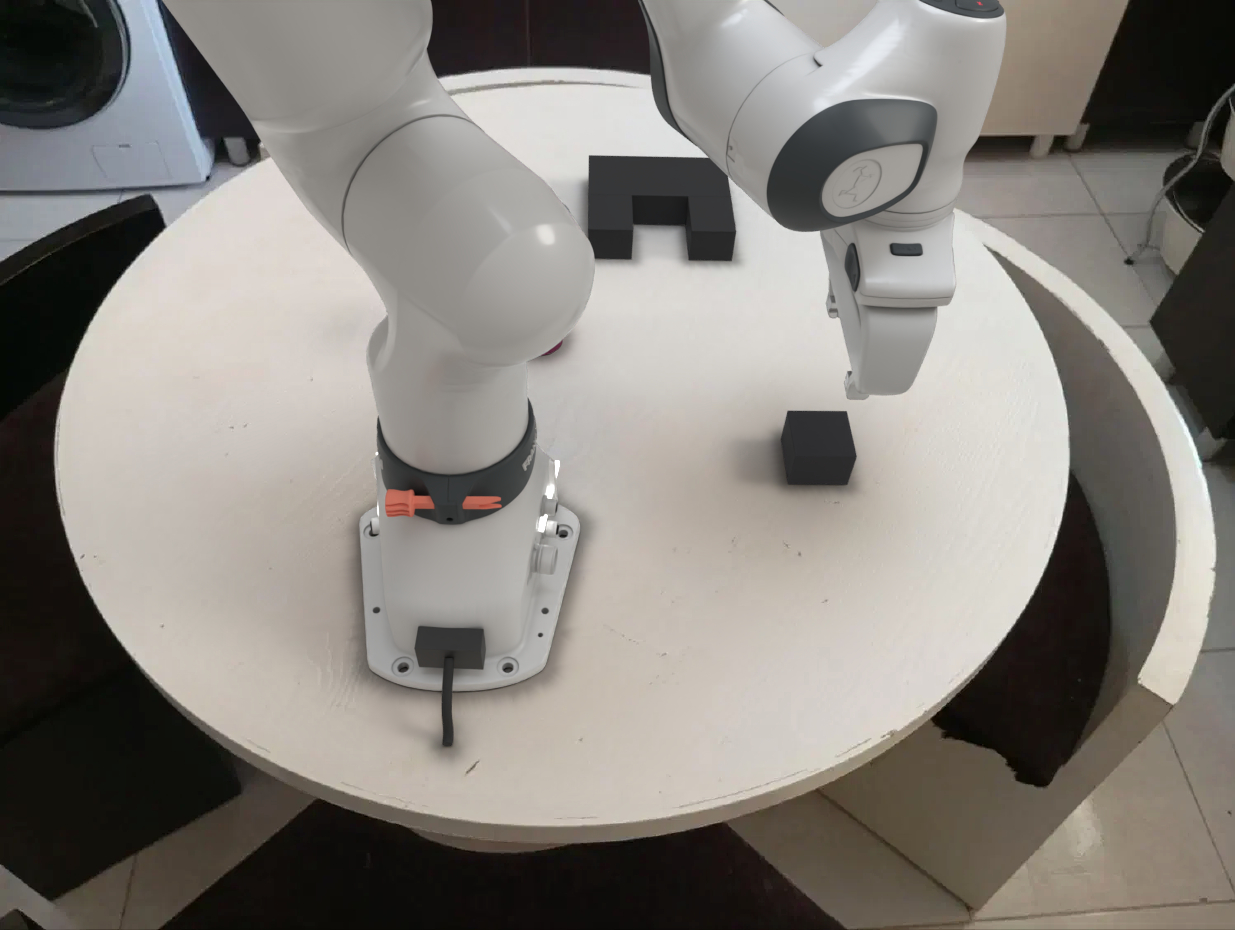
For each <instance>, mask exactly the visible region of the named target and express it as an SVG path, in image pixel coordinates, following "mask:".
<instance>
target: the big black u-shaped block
mask: <svg viewBox="0 0 1235 930" xmlns="http://www.w3.org/2000/svg"><path fill="white" fill-rule="evenodd" d="M587 177H588V187H587V188H588V189H587V191H588V192H587V193H588V194H587V238H588V240H589V241H590V243H591V246H592V248H593V252H594V258H595V260H632V259H633V246H634V245H633V243H634V225H641V226H642V225H645V226H684V227H685V238H686V249H687V258H688V259H687V260H688V261H709V262H711V261H714V262H715V261H716V262H717V261H718V262H732V261H733V257H734V256H733V255H734V250H735V242H736V235H737V228H736V227H737V226H736V221H735V215H734V207H733V201H732V195H731V188H730V181H729V177H728V176H727V175H726V174H725V173H724V172H723V171H722V170H721V169H720V168H719V167H718V166H717V165H716V164H715V163H714V162H713V161H712V160H711V159H710V158H709V157H702V156H701V157H699V156H697V157H696V156H693V157H692V156H653V155H652V156H649V155H648V156H645V155H602V154H601V155H600V154H599V155H597V154H596V155H595V154H594V155H593V154H589V155H588V176H587Z"/></svg>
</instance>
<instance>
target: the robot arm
mask: <svg viewBox="0 0 1235 930" xmlns="http://www.w3.org/2000/svg"><path fill="white" fill-rule="evenodd" d="M161 2H162V3H163V4H164V5H165V7H166V8H167V9H168V11H169V12H170V14H171V15H172V16H173V18H174V19H175V20H176V22H177V23H178V24H179V26H180V27H181V28H182V30H183V31H184V32H185V34H186V35H187V37H188V38H189V40H191V42H192V44H193V45H194V46H195V47H196V48H197V50H198V51H199V53H200V54H201V55H202V57H203V58H204V60H205V61H206V62H207V63H208V65H209V66H210V68H211V69H212V70H213V72H214V73H215V74H216V76H217V77H218V78H219V80H220V82H222V83H223V85H224V86H225V88H226V89H227V91H228V92H229V93H230V94H231V96H232V98H234V100H235V102H236V103H237V104H238V105H239V107H240V109H241V110H242V111H243V112H244V114H245V116H246V118H247V119H248V121H249V123H250V124H251V126H252V128H253V129H254V131H255V133H256V135H257V136H258V139H259V140H260V142H261V144H262V145H263V147H264V148H265V150H266V152H267V154H269V156H270V158H271V159H272V161H273V162H274V164H275V166H276V167H277V169H278V170H279V171H280V173H281V175H282V176H283V177H284V179H285V180H286V182H287V183H288V185H289V186H290V188H291V189H292V191H293V192H294V193H295V195H296V196H297V198H298V199H299V200H300V202H301V204H302V205H303V206H304V208H305V209H306V210H307V211H308V213H309V214H310V215H311V216H312V217H313V218H314V219H315V220H316V221H317V223H318V224H319V225H321V227H322V228H323V229H324V230H325V231H326V232H327V233H328V234H329V235H330V236H331V237H332V238H333V240H335V242H337V243H338V245H339V246H340V247H341V248H342V249H344V251H345V252H346V253H347V254H348V255H349V256H350V257H351V258H352V259H353V260H354V261H355V262H356V263H357V264H358V266H359V267H360V268H361V269H362V271H364V273H365V275H366V276H367V277H368V279H369V281H370V283H371V284H372V285H373V287H374V289H375V290H376V292H377V293H378V295H379V298H380V299H381V301H382V304H383V307H384V308H385V312H386V315H385V316H384V317H383V318H382V319H381V321H380V322H379V323H378V324H377V326H375V327H374V329H373V331H372V332H371V334H370V336H369V338H368V341H367V345H366V353H365V363H366V366H367V371H368V375H369V379H370V383H371V389H372V393H373V399H374V402H375V406H376V411H377V418H376V449H377V452H375V457H373V458H371V460H370V464H371V467H372V471H373V475H374V478H375V483H376V497H377V498H376V499H377V505H375V506H374V507H372V508H370V509H369V510H367V511H366V512H364V513H363V514H361V517H360V519H359V521H358V523H359V524H358V525H359V542H360V560H361V573H362V574H361V576H362V578H361V579H362V595H363V596H362V597H363V609H364V611H363V613H364V628H365V644H366V645H365V646H366V659H367V665H368V668H369V670H370V671H371V672H373V673H374V674H375V675H376V676H379V677H380V678H383V679H385V680H387V681H389V682H391V683H394V684H397V685H400V686H403V687H407V688H413V689H418V690H424V691H425V690H426V691H434V692H435V691H437V692H438V691H439V692H441V705H440V706H441V708H440V709H441V710H440V711H441V721H442V722H441V723H442V742H441V743H442V744H441V745H442V746H443V747H452V746H453V744H454V721H453V692H473V691H474V692H475V691H484V690H492V689H497V688H503V687H507V686H511V685H515V684H517V683H520V682H523V681H525V680H528V679H529V678H531V677H533V676H535V675H537V674H538V673H540V672H542V671H544V669H545V667H546V665H547V663H548V659H549V656H550V651H551V647H552V645H553V640H554V636H555V631H556V628H557V623H558V621H559V616H560V612H561V608H562V604H563V601H564V596H565V593H566V590H567V589H566V588H567V585H568V581H569V576H570V573H571V568H572V564H573V561H574V557H575V553H576V549H577V544H578V541H579V537H580V534H581V533H580V532H581V524H580V519H579V517H578V515H576V514H575V512H573V511H572V510H570V509H568V508H567V507H565V506H564V505H562V504H559V497H558V495H559V494H558V482H557V477H558V473H559V470H560V460H554V459H552V457H551V456H550V455H549V454H548V453H546V452H545V451H544V450H543V449H542V448H541V447H540V446H539V445H538V444H537V439H538V430H537V420H536V417H535V414H534V408H533V404H532V401H531V400H530V398H529V395H528V393H529V392H528V362H530V361H532V360H534V359H536V358H539V357H542V356H541V355H542V354H544V353H546V352H548V351H549V350H550V349H552V348H553V347H555V346H556V345H557V344H558V343H559V342H561V341H562V340H563V341H564V339H565V338H566V337H567V336H568V335H569V334H570V332H571V331H572V330H573V329H574V328H575V326H576V325H577V324H578V322H579V320H580V319H581V317H582V315H583V314H584V311H585V310H586V308H587V305H588V303H589V299H590V297H591V293H592V290H593V286H594V281H595V273H596V259H595V258H594V252H593V248H592V246H591V243H590V241H589V240H588V235H586V233H585V232H584V231H583V229H582V228H581V226H580V225H579V224H578V222H577V221H576V219H575V218H574V217H573V215H572V213H571V211H570V210H569V211H570V212H569V211H568V210H567V208H568V207H567V208H566V207H565V206H564V204H565V203H563V202H562V200H561V198H559V196H558V195H557V194H556V192H555V191H554V190H553V188H552V187H551V185H549V184H548V183H547V182H546V181H545V180H544V179H543V178H542V177H541V176H540V175H539V174H537V173H536V172H534V171H533V170H532V169H531V168H530V167H528V166H527V165H526V164H525V163H523V162H522V161H521V160H520V159H518V157H516V156H515V155H513V153H511V152H510V151H508V150H507V149H506V148H505V147H503V146H502V145H501V144H500V143H499V142H498V141H496V140H495V139H494V138H492V137H491V136H490V135H489V134H487V132H486V131H485V130H483V128H482V127H481V126H480V125H478V124H477V123H476V122H475V121H473V119H472V118H470V117H469V115H468V114H467V113H466V112H465V111H464V110H463V109H462V108H461V107H460V106H459V104H458V103H456V100H454V99H453V97H452V96H451V95H450V94H449V92H448V91H447V90H446V89H445V87H444V86H443V84H442V83H441V81H440V79H438V76H437V75H436V72H435V71H434V68H433V65H432V63H431V60H430V57H429V53H428V49H427V48H428V47H429V44H430V40H431V35H432V31H433V25H434V24H433V23H434V21H433V20H434V19H433V18H434V15H433V13H434V12H433V5H432V1H431V0H161ZM637 2H638V4H639V7H640V9H641V12H642V14H643V18H644V20H645V25H646V29H647V34H648V35H647V36H648V41H649V42H648V43H649V44H648V45H649V67H650V69H649V70H650V85H651V92H652V96H653V100H654V103H655V106H656V108H657V111H658V112H659V114H660V116H661V117H662V119H663V120H664V122H666V123H667V124H668V125H669V126H670V127H671V128H672V129H673V130H675V131H676V132H677V133H679V134H680V135H681V136H682V137H683V138H685V139H686V140H688V141H689V142H690V143H692V145H694V146H695V147H697V148H698V149H699V150H700V151H701V152H702V153H703V154H704V155H705V156H706V157H707V158H710V159H711V160H712V161H713V162H714V163H715V164H716V165H717V166H718V167H719V168H720V169H721V170H722V171H723V172H724V173H725V174H726V175H727V176H728V179H730V180H731V181H732V182H733V183H734V184H735V185H736V186H737V187H738V188H740V189H741V190H742V191H743V193H745V195H746V196H747V197H749V198H750V200H752V201H753V202H754V203H755V204H756V205H757V206H758V207H760V208H761V210H763V211H764V212H765V213H766V214H767V215H768V216H770V217H771V218H772V219H773V220H775V222H777V223H778V224H779V225H780V226H781V227H783V228H785V229H787V230H789V231H793V232H798V233H814V232H819V236H820V241H821V244H822V245H821V246H822V249H823V254H824V257H825V262H826V265H827V266H826V267H827V270H828V291H827V292H828V293H827V297H826V299H825V300H826V301H825V308H826V311H827V315H828V318H830V319H837V318H838V319H839V321H840V325H841V330H842V334H843V340H844V342H845V347H846V350H847V351H846V352H847V355H848V361H849V364H850V368H851V370H847V371H846V374H845V379H844V381H843V386H844V387H843V388H844V391H845V397H846V399H848V400H850V401H864V400H867V399H868V398H869V397H870V396H881V397H883V396H885V397H886V396H900V395H903V394H905V393H906V392H908V391H910V389H911V388H912V386H913V385H914V383H915V381H916V379H917V377H918V374H919V372H920V370H921V367H922V365H923V363H924V361H925V358H926V356H927V353H928V351H929V349H930V345H931V343H932V340H933V338H934V336H935V335H934V334H935V331H936V327H937V323H938V322H937V321H938V307H947V306H949V305H950V304H951V303H952V300H953V299H954V296H955V293H956V287H957V275H956V266H955V255H954V246H953V239H954V227H955V219H956V214H955V212H954V210H955V207H956V204H957V201H958V198H959V196H960V193H961V189H962V186H963V181H964V163H965V160H966V157H967V155H968V154H969V151H970V150H971V149H972V148H973V146H974V145H975V144H976V142H977V141H978V138H979V137H980V134H981V132H982V130H983V126H984V124H985V120H986V117H987V115H988V112H989V110H990V107H991V103H992V100H993V97H994V93H995V90H996V87H997V83H998V79H999V77H1000V76H999V75H1000V72H1001V68H1002V64H1003V58H1004V53H1005V47H1006V41H1007V29H1008V28H1007V27H1008V25H1007V24H1008V23H1007V14H1006V11H1005V8H1004V7H1003V5H1002V4H1001V3H1000V0H876V2H875V4H874V6H873V7H872V8H871V10H870V11H869V12H868V13H867V14H866V15H865V16H864V17H863V19H861V20H860V21H859V23H857V24H856V25H855V26H854V27H853V28H852V29H851V30H850V31H848V32H847V33H846V34H844V35H843V36H842V37H841V38H839V39H838V40H836V41H834V42H833V43H832V44H830V45H827V46H826V47H824V45H822V44H821V43H820V42H818V41H817V40H816V39H814V38H813V37H812V36H811V35H809V34H808V33H806V32H805V31H804V30H803V29H802V28H800V27H799V26H798V25H796V24H795V23H793V21H791V20H790V19H788V18H787V17H786V16H785V15H784V14H783V12H782V11H781V10H779V8H778V7H776V6H775V5H774V4H773V3H772V2H771V1H769V0H637ZM372 535H375V536H372ZM563 535H564V536H565V537H560V536H563ZM402 668H407V670H406V671H404V672H402V671H400V670H401V669H402ZM507 668H511V669H512V670H511V671H509V672H505V671H504V670H505V669H507Z"/></svg>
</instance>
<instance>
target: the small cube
mask: <svg viewBox="0 0 1235 930" xmlns="http://www.w3.org/2000/svg"><path fill="white" fill-rule="evenodd" d="M853 437H854V436H853V433H852V428H851V423H850V419H849V415H848V411H847V410H787V411H786V414H785V419H784V423H783V427H782V432H781V436H780V444H781V450H782V456H783V463H784V469H785V474H786V475H785V476H786V481H787V484H788V485H829V486H830V485H833V486H834V485H838V486H839V485H840V486H844V485H849V482H850V479H851V476H852V472H853V470H854V467H855V464H856V461H857V457H858V455H857V451H856V446H855V442H854V438H853Z"/></svg>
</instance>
